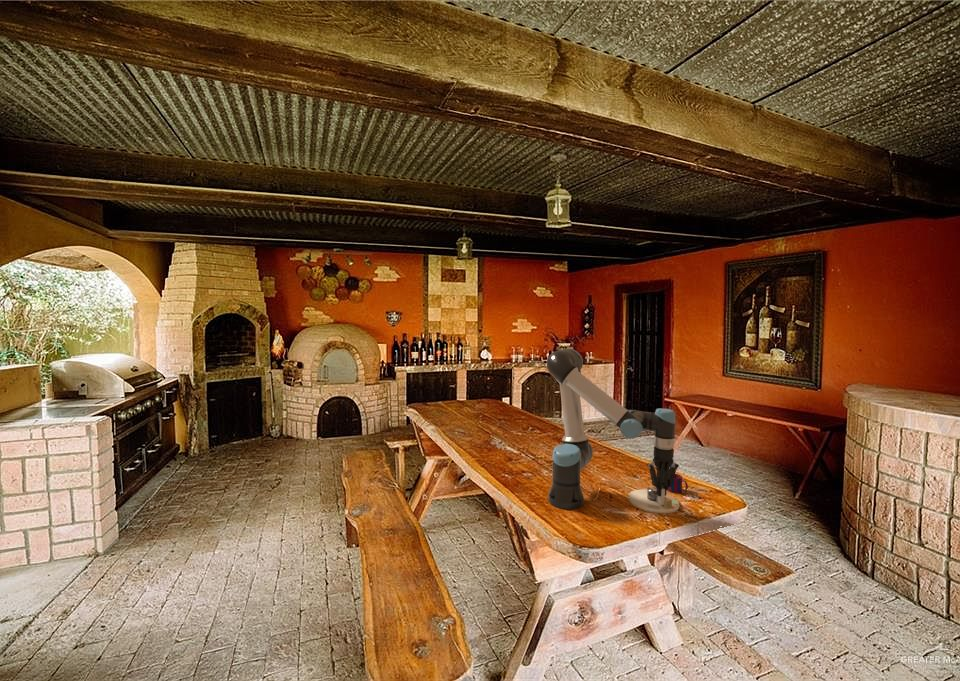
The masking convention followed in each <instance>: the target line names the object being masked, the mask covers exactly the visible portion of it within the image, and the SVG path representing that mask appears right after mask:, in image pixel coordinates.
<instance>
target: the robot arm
mask: <svg viewBox="0 0 960 681" xmlns="http://www.w3.org/2000/svg"><path fill="white" fill-rule="evenodd" d="M583 363H584V360H583V357H582V355H581V354H580V352H578V351H577V350H575V349H571V348H565V349H561V350H556V351H553V352H552V353H550V355H549V356H548V357H547V359H546V370H547V372H548V373H549V374H550V375H551V376H552V378H554V379H555V381H556V382H557V383H558V384H559V391H560V392H559V393H560V399H561V409H562V417H563V418H562V420H563V427H564V436H563V437H561V438H562V440H561V441H562V444H559V445H556V446H555V447H554V448H553V451H552V483H551V486H550V489H549V491H548V494H547V501H548V503H549V502H550V503H551V505H552V506H554V507H555V508H558V509H559V508H560V509H563V510H564V509H565V510H574V509H579V508H581V507H583V506H584V504H585V498H584V497H585V496H584V493H583V490H582V487H581V471H582V470H583V469H584V468H585V467H587V465H588V464H589V463H590V462H591V460H592V458H593V455H594V450H593V447H592V444H591V443H590V441H589V437H588V436H587V435H586V434H585V429H584V427H585V426H584V419H583V409H582V401H581V398H582V399H583V400H584V401H585V402H587V403H588V404H589V405H590V406H592V407H593V408H594V409H595V410H596V411H598V412H599V413H600V414H602V416H604V417H605V418H606V419H608V420H609V421H610V422H611V423H613V424H614V425H615V426H616V427H617V428H618V429H619V430H620V433H621V435H622V436H624V438H626V439H629V440H633V439H636V438H638V437H639V436H641V435H642V433H643V432H644V431H649V432H654V435H653V436H654V437H653V458H652V462H650V463H647V464H646V466H647V467H648V469H649V473H650V474H649V475H650V479H651V480H650V481H651V485H652V487H655V488H657V495H658V503H660V504H661V505H664V499H665V496H666V493H667V492H668V491H667V490H668V489H669V488H668V487H671V486H672V483H673V479H674V476H675V473H676V471H677V469H678V468H679V466H680V465H679V464H677V463H676V462H674V456H675V455H674V454H675V453H674V452H675V450H674V447H675V436H676V435H675V434H676V412H675V411H674V410H673V409H670V408H656V409H655V412H649V411H642V410H636V409H627V408H625V407H624V406H622V404H620V403H619V402H618V401H616V400H615V399H614V398H613V397H611V396H610V395H609V394H608V393H606V392H605V391H604V390H602V389H601V388H600V387H598V385H596V384H595V383H594V382H592V381H591V380H590V379H588V378H587V377H586V376H585V375H583V374H582V370H581V369H582V368H583V366H584V364H583ZM550 503H549V504H550Z"/></svg>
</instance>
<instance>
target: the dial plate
mask: <svg viewBox="0 0 960 681" xmlns="http://www.w3.org/2000/svg"><path fill="white" fill-rule="evenodd" d="M665 497H667V498H669V499H671V500H672V508H668V509H667V508H665V507H664V506H663V505H661V504H660V503H658V502H657V501H651V500H649V499H648V498H647V488H646V489H645V488H642V489H641V488H640V489H635V490H632V491H630V492H629V493H628V501H629V503H630V504H631V505H632V506H634V507H635V508H637V509H640V510H642V511H645V512H649V513H652V514H673V513H675V512H677V511H678V510H680V501H679V500H678V499H677V498H676V497H675V496H673V495H672V494H670V493H667V492H666V496H665Z"/></svg>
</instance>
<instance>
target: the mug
mask: <svg viewBox="0 0 960 681" xmlns="http://www.w3.org/2000/svg"><path fill="white" fill-rule="evenodd" d="M683 483H684V484H685V489H683ZM688 487H689V485H688V482H687V481H686V480H684V479H683V476H682V474H679V473H676V472H675V476H674V479H673V483H672V486H671V487H668V488H669V489H668V490H667V491H666V492H668V493H669V492H670V493H673V494H681V493H682V492H686V491H687V490H688Z"/></svg>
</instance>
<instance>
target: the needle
mask: <svg viewBox="0 0 960 681" xmlns="http://www.w3.org/2000/svg"><path fill="white" fill-rule="evenodd" d="M646 489H647V498H648V499H649V500H651V501H657V502H658V495H657V488H656V487H655V486H649V487H647V488H646ZM663 506H664V507H665V508H667V509H668V508H672V500H671V499H669V498H667V497H665V499H664V505H663Z"/></svg>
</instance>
